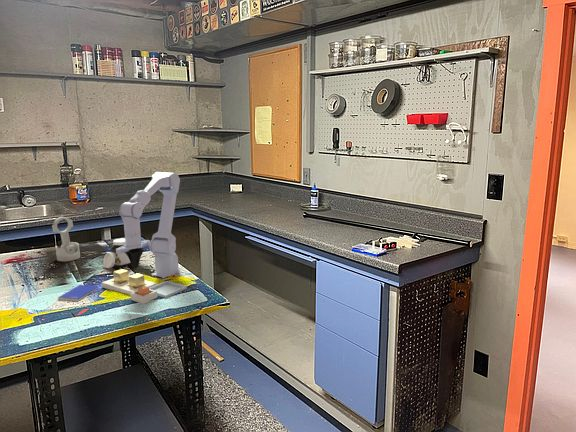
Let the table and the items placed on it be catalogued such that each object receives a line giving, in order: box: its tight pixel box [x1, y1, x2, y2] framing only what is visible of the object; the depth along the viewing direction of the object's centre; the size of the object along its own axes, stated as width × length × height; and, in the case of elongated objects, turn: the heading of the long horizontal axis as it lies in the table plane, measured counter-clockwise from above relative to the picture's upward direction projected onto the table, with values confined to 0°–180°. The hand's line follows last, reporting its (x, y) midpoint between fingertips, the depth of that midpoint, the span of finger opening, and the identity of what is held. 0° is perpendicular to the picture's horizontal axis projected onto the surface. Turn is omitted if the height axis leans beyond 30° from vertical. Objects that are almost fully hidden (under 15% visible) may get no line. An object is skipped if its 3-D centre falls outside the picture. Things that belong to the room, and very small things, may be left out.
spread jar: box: [102, 237, 132, 269], centre depth 196 cm, size 12×11×12 cm
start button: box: [138, 286, 150, 296], centre depth 160 cm, size 4×4×3 cm
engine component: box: [51, 216, 81, 262], centre depth 205 cm, size 11×20×10 cm
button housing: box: [130, 289, 158, 305], centre depth 160 cm, size 7×7×3 cm
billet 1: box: [112, 268, 130, 284], centre depth 174 cm, size 4×4×6 cm
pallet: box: [101, 277, 158, 296], centre depth 172 cm, size 11×19×2 cm, turn 59°
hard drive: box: [57, 284, 99, 302], centre depth 166 cm, size 2×8×12 cm
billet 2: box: [129, 272, 145, 289], centre depth 169 cm, size 4×4×6 cm
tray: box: [149, 280, 188, 299], centre depth 168 cm, size 11×11×2 cm
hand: (135, 267), depth 167 cm, fingers closed
